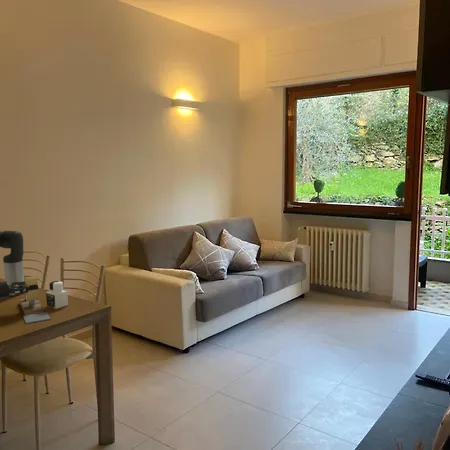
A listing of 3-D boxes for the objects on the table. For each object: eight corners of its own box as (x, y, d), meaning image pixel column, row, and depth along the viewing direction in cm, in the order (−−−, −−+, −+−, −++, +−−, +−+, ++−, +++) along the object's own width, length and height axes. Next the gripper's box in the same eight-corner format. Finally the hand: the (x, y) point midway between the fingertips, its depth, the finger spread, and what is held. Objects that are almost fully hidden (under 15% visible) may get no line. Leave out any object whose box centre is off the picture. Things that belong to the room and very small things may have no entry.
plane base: (19, 303, 227) (18, 287, 226) (37, 300, 231) (36, 285, 230) (25, 315, 210) (23, 298, 209) (43, 312, 214) (42, 295, 213)
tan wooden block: (25, 298, 218) (24, 277, 217) (36, 296, 221) (35, 276, 219) (27, 300, 214) (25, 279, 213) (38, 299, 217) (37, 278, 215)
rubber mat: (23, 316, 208) (23, 315, 208) (46, 313, 213) (46, 312, 213) (26, 323, 199) (25, 322, 199) (50, 319, 204) (50, 318, 204)
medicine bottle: (46, 306, 222) (45, 282, 221) (59, 302, 228) (58, 279, 226) (55, 309, 218) (53, 284, 216) (68, 305, 224) (66, 281, 222)
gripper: (-3, 286, 203) (39, 281, 211) (-5, 279, 215) (34, 274, 223) (-1, 303, 204) (40, 297, 212) (-4, 294, 216) (35, 289, 225)
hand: (37, 285), depth 218 cm, fingers closed on tan wooden block, 5 cm apart
